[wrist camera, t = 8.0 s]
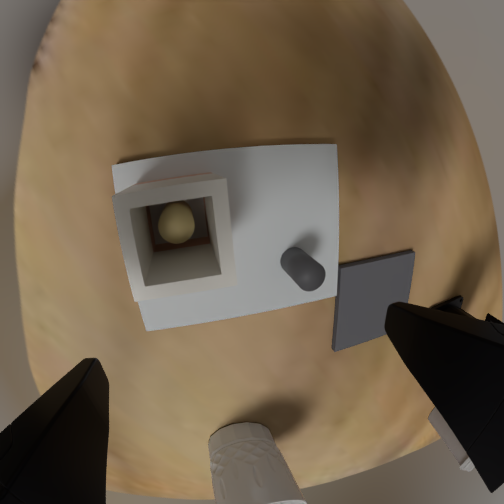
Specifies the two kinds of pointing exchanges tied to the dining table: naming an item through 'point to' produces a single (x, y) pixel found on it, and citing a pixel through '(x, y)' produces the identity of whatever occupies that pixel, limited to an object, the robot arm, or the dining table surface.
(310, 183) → the pin board
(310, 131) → the dining table surface
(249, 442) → the white cup
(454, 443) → the coffee cup
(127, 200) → the sleeve
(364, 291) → the mat
